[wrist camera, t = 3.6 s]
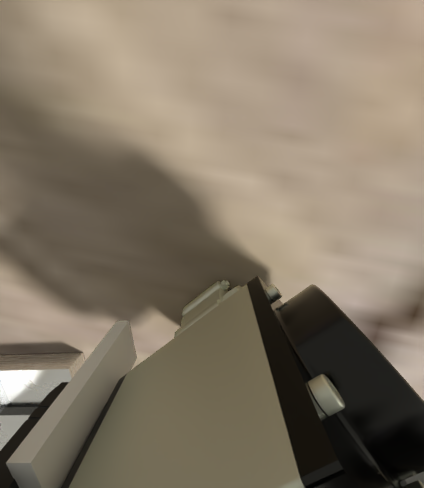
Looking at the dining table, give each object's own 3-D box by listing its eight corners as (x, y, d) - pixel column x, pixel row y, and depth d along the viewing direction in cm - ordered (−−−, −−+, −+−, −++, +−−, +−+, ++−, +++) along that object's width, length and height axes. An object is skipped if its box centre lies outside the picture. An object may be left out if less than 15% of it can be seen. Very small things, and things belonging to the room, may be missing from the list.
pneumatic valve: (137, 331, 15) (-134, 789, 4) (262, 231, 13) (657, 616, 1) (187, 377, 16) (101, 859, 4) (312, 291, 14) (805, 836, 2)
